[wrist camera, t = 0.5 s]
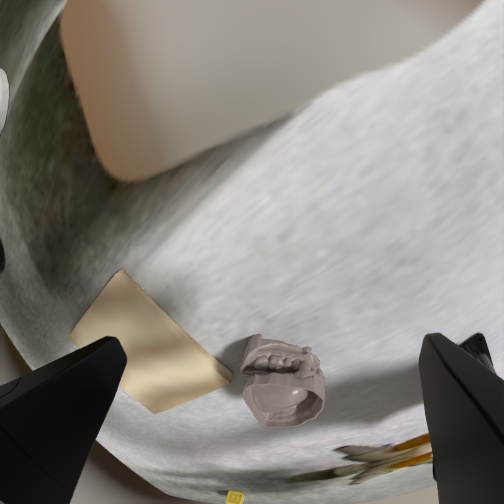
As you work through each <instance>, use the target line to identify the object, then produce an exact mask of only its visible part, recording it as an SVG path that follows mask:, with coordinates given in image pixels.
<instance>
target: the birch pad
mask: <svg viewBox="0 0 504 504" xmlns="http://www.w3.org/2000/svg"><path fill="white" fill-rule="evenodd" d="M105 336H114V337H117V338H118V339H119V341H120V343H121V345H122V347H123V349H124V351H125V353H126V355H127V365H126V367H125V370H124V373H123V375H122V378H121V381H120V384H119V386H120V387H121V388H122V389H123V390H125V391H126V392H127V393H128V394H129V395H131V396H132V397H133V398H134V399H135V400H137V401H138V402H139V403H140V404H142V405H143V406H144V407H146V408H147V409H148V410H149V411H151V412H152V413H153V414H157V413H159V412H162V411H165V410H167V409H170V408H173V407H175V406H178V405H180V404H183V403H185V402H188V401H190V400H193V399H195V398H198V397H200V396H202V395H205V394H207V393H209V392H212V391H214V390H216V389H219V388H221V387H223V386H225V385H227V384H230V383H231V380H232V377H233V373H232V372H230V371H229V370H228V369H227V368H226V367H224V366H223V365H222V364H221V363H220V362H219V361H217V360H216V359H215V358H214V357H213V356H212V355H210V354H209V353H208V352H207V351H206V350H205V349H204V348H203V347H201V346H200V345H199V344H198V343H197V342H196V341H195V340H194V339H193V338H191V337H190V336H189V335H188V334H187V333H186V332H185V331H184V330H183V329H182V328H181V327H180V326H179V325H177V324H176V323H175V322H174V321H173V320H172V319H171V318H170V317H169V316H168V315H167V314H166V313H165V312H164V311H163V310H162V309H161V308H160V307H159V306H158V305H157V304H156V303H155V302H154V301H153V300H152V299H151V298H150V297H149V296H148V295H147V294H146V293H145V292H144V291H143V290H142V289H141V288H140V287H139V286H138V285H137V284H136V283H135V282H134V280H133V279H132V278H131V277H130V276H129V275H128V274H127V273H126V272H125V271H124V270H123V269H121V270H120V271H119V272H117V273H116V274H115V275H114V276H113V278H112V279H111V280H110V281H109V283H108V284H107V285H106V287H105V288H104V289H103V290H102V292H101V293H100V294H99V296H98V297H97V298H96V300H95V301H94V302H93V303H92V305H91V306H90V307H89V309H88V310H87V312H86V313H85V314H84V316H83V317H82V318H81V320H80V321H79V323H78V324H77V325H76V327H75V328H74V330H73V331H72V332H71V334H70V335H69V338H70V339H71V340H72V341H73V343H74V344H75V345H76V346H77V347H78V348H79V349H80V348H82V347H84V346H86V345H88V344H90V343H92V342H94V341H96V340H99V339H101V338H103V337H105Z"/></svg>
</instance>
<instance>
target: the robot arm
mask: <svg viewBox="0 0 504 504" xmlns="http://www.w3.org/2000/svg"><path fill="white" fill-rule="evenodd" d="M126 365H127V355H126V353H125V351H124V349H123V347H122V345H121V343H120V341H119V339H118V338H117V337H114V336H105V337H103V338H101V339H99V340H96V341H94V342H92V343H90V344H88V345H86V346H84V347H82V348H80V349H78V350H76V351H74V352H72V353H70V354H67V355H65V356H63V357H61V358H59V359H57V360H55V361H53V362H51V363H49V364H47V365H45V366H42V367H40V368H38V369H36V370H34V371H32V372H30V373H28V374H26V375H23V377H19V378H17V379H15V380H13V381H11V382H8V383H6V384H4V385H2V386H0V504H70V502H71V499H72V496H73V493H74V491H75V488H76V486H77V483H78V480H79V478H80V475H81V473H82V470H83V468H84V466H85V463H86V461H87V458H88V456H89V454H90V451H91V449H92V447H93V444H94V442H95V440H96V437H97V435H98V433H99V431H100V428H101V426H102V424H103V422H104V420H105V417H106V415H107V413H108V411H109V409H110V407H111V404H112V402H113V400H114V397H115V395H116V392H117V389H118V386H119V384H120V381H121V378H122V375H123V373H124V370H125V367H126ZM419 370H420V376H421V383H422V391H423V400H424V408H425V416H426V421H427V426H428V431H429V436H430V441H431V447H432V452H433V478H434V480H435V481H436V482H437V488H438V496H439V504H504V380H503V379H502V378H500V377H499V376H498V375H497V374H496V372H495V370H494V368H493V363H492V360H491V356H490V353H489V350H488V346H487V343H486V340H485V337H484V335H483V334H482V333H479V334H478V335H476V336H475V337H474V338H472V339H471V340H469V341H468V342H467V343H465V344H464V345H462V346H461V347H459V346H458V345H456V344H455V343H454V342H452V341H451V340H449V339H448V338H447V337H445V336H444V335H442V334H441V333H431V334H427V335H425V337H424V339H423V343H422V348H421V352H420V356H419Z"/></svg>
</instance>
